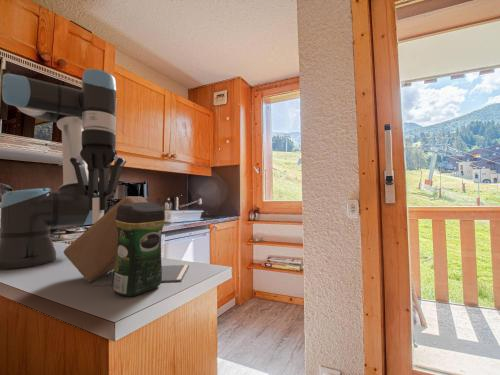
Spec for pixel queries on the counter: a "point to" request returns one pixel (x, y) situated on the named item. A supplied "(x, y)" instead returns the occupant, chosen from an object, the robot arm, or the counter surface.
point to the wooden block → (98, 244)
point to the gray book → (168, 275)
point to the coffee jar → (138, 248)
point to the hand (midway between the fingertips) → (98, 223)
